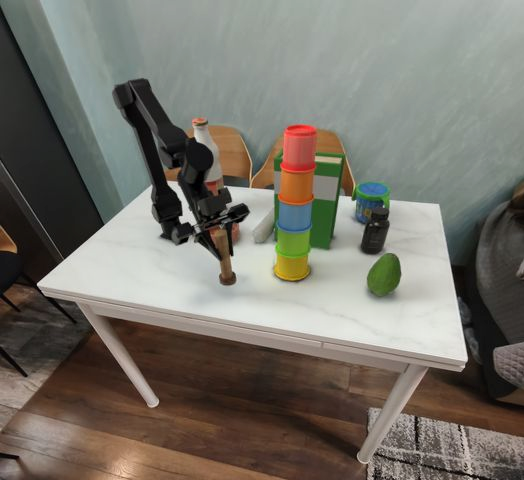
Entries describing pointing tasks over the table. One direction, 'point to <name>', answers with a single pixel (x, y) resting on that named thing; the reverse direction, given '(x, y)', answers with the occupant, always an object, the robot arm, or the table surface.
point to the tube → (264, 227)
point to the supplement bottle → (375, 231)
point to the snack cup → (370, 199)
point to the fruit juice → (203, 136)
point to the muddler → (224, 258)
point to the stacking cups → (295, 202)
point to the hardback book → (317, 196)
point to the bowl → (234, 232)
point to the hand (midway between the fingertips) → (226, 258)
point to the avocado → (384, 275)
